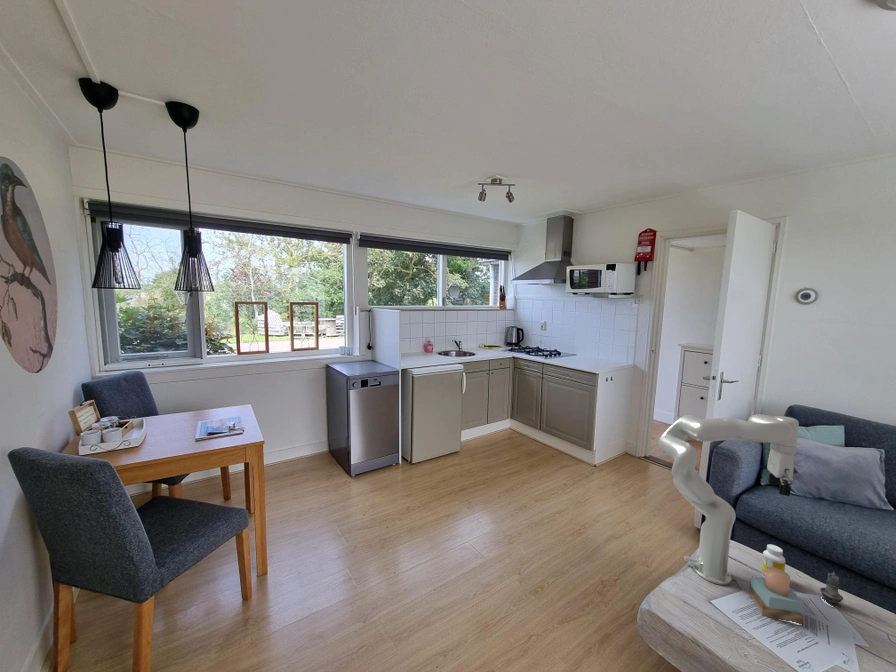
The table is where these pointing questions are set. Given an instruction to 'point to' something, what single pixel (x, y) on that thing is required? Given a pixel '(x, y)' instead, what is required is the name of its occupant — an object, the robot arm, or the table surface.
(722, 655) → the table surface
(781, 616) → the tower base block
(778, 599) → the tower top block
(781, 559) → the supplement bottle
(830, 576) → the dark grey figurine
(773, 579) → the brown egg
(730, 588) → the table surface
